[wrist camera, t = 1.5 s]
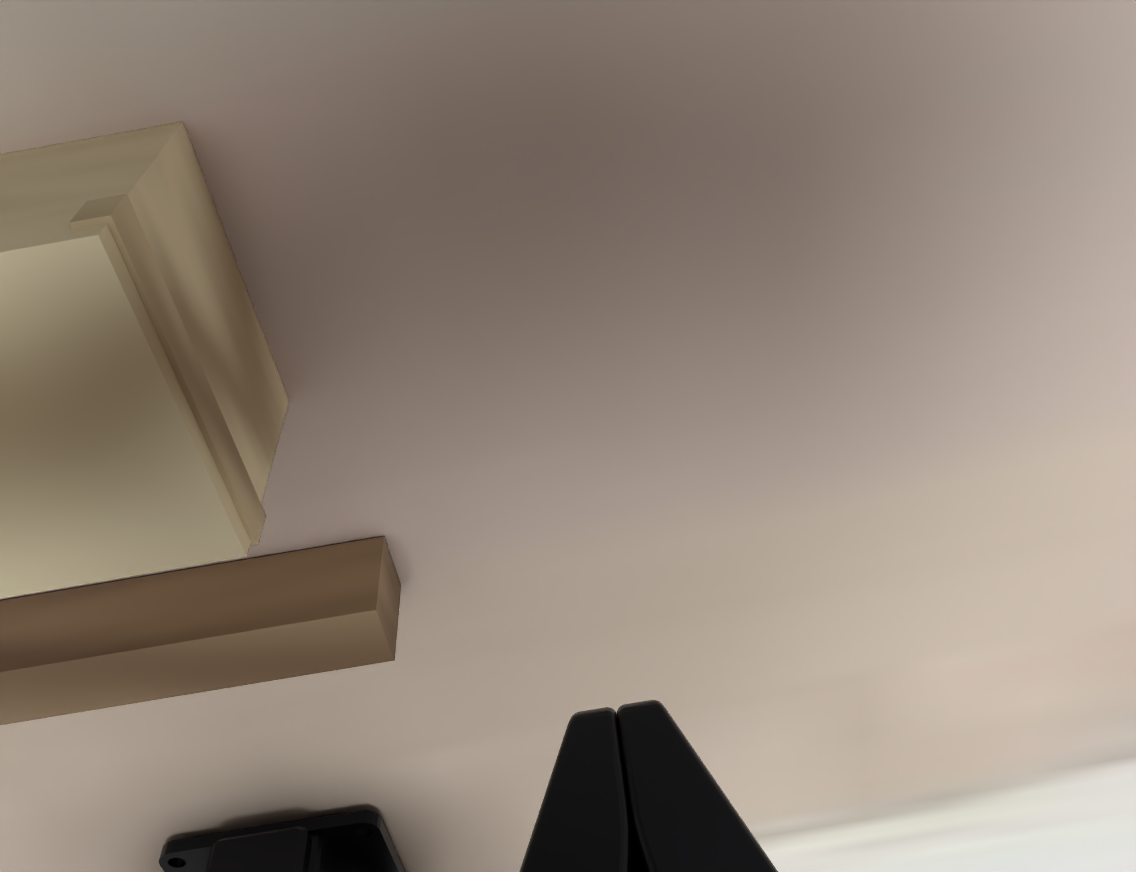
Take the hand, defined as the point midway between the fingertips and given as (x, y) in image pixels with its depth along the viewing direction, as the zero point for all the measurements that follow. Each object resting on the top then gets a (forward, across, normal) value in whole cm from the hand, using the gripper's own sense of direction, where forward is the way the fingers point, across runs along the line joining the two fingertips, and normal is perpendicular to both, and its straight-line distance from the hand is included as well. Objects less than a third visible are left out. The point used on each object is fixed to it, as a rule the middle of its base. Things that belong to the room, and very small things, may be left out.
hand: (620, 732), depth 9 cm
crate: (+12, +9, 0) cm, 15 cm away
